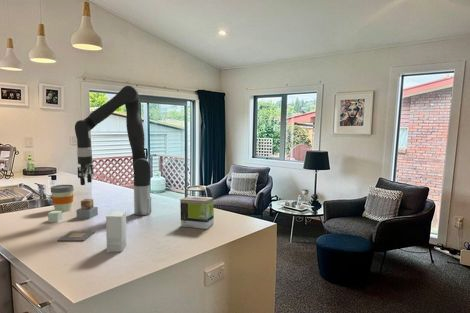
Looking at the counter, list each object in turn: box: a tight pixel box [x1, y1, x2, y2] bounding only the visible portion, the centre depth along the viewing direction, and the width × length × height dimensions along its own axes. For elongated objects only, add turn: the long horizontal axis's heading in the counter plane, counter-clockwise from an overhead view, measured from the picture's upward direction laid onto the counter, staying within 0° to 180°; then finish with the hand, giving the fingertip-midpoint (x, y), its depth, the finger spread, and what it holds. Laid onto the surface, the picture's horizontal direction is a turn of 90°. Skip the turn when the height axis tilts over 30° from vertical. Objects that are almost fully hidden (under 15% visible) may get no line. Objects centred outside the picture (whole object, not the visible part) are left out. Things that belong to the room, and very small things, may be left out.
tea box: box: [179, 195, 215, 230], centre depth 166 cm, size 15×10×15 cm
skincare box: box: [105, 210, 127, 253], centre depth 134 cm, size 8×7×16 cm
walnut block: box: [80, 198, 95, 210], centre depth 182 cm, size 5×5×5 cm
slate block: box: [76, 206, 99, 220], centre depth 182 cm, size 8×8×5 cm
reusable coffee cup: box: [50, 184, 75, 213], centre depth 195 cm, size 13×13×15 cm
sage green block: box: [47, 210, 63, 223], centre depth 174 cm, size 5×5×5 cm
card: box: [56, 230, 96, 242], centre depth 149 cm, size 12×12×1 cm
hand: (86, 183), depth 181 cm, fingers open, 8 cm apart
